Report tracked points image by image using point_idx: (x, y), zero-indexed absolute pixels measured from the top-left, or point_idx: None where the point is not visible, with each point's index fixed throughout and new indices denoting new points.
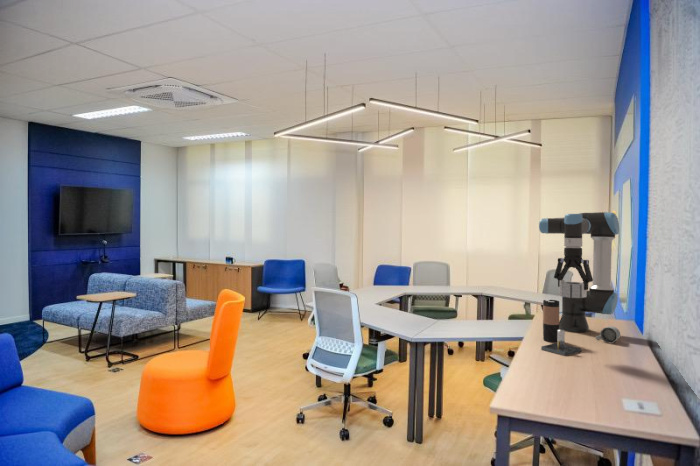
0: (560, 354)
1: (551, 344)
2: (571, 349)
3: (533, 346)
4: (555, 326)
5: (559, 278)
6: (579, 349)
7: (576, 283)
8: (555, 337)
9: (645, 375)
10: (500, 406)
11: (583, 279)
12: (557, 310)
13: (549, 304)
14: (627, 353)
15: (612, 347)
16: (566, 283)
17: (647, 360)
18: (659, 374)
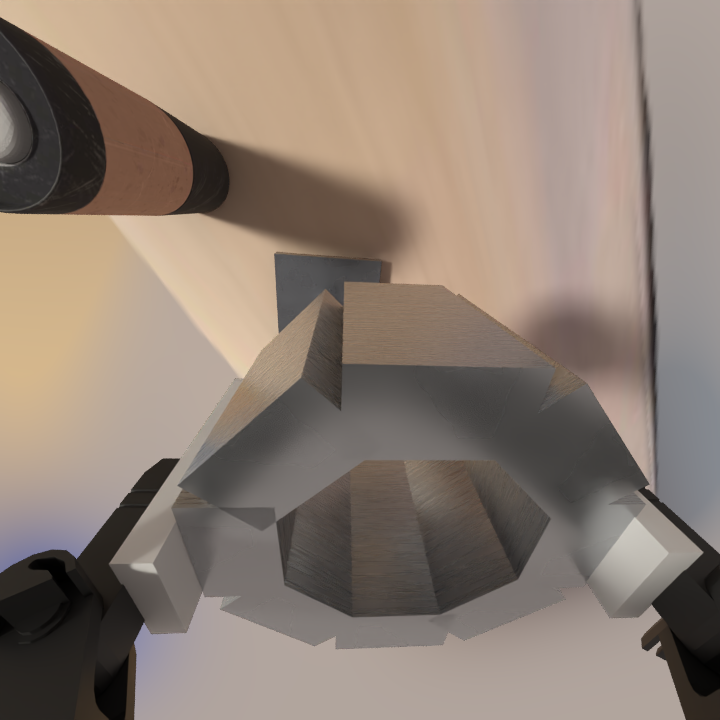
0: None
1: (280, 298)
2: None
3: (238, 332)
4: (195, 187)
5: (115, 692)
6: (380, 269)
7: (423, 446)
8: (220, 189)
9: (598, 351)
10: None
11: (716, 716)
12: (129, 150)
13: (58, 210)
14: (528, 107)
15: (447, 31)
16: (359, 626)
17: (607, 164)
18: (634, 312)
